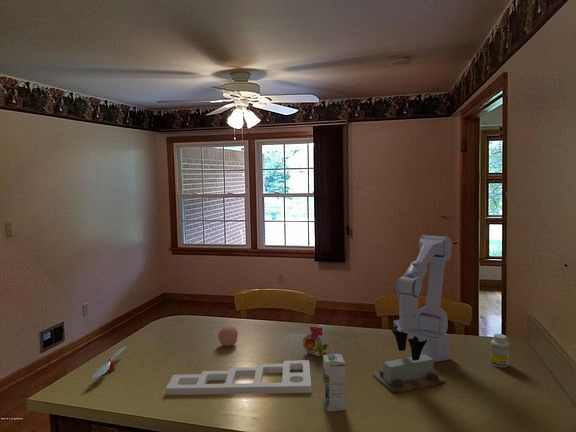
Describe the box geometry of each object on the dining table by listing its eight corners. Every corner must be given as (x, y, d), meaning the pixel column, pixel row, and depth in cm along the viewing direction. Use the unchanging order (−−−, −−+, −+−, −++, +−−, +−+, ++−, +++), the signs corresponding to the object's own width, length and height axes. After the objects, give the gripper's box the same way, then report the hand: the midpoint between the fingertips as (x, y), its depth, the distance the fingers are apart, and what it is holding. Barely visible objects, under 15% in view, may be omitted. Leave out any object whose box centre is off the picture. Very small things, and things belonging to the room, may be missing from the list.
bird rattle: (307, 362, 155) (329, 355, 152) (294, 335, 155) (316, 327, 153) (310, 355, 161) (332, 348, 158) (299, 329, 161) (320, 321, 159)
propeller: (131, 355, 160) (130, 344, 160) (98, 388, 136) (97, 375, 135) (120, 355, 161) (120, 344, 160) (85, 388, 136) (84, 375, 135)
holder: (166, 396, 130) (165, 388, 130) (181, 369, 148) (181, 362, 148) (311, 394, 129) (311, 385, 129) (309, 367, 147) (309, 360, 147)
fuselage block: (425, 370, 140) (425, 354, 140) (433, 375, 137) (433, 359, 136) (383, 378, 135) (383, 362, 135) (390, 384, 132) (390, 367, 131)
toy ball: (242, 344, 168) (241, 325, 168) (230, 351, 162) (229, 331, 161) (227, 340, 173) (226, 321, 172) (214, 347, 166) (213, 327, 165)
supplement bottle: (496, 359, 149) (496, 331, 148) (511, 365, 144) (512, 336, 143) (487, 363, 146) (487, 335, 145) (502, 369, 141) (503, 340, 140)
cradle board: (422, 366, 145) (422, 360, 144) (445, 382, 133) (445, 375, 133) (373, 376, 139) (373, 369, 139) (393, 393, 128) (393, 386, 127)
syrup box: (322, 401, 124) (321, 354, 123) (342, 400, 125) (341, 353, 123) (325, 412, 118) (325, 362, 117) (346, 410, 119) (345, 361, 118)
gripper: (385, 308, 140) (385, 348, 141) (411, 323, 126) (411, 366, 127) (404, 306, 142) (404, 345, 143) (431, 319, 128) (431, 362, 129)
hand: (408, 355), depth 135 cm, fingers open, 7 cm apart
